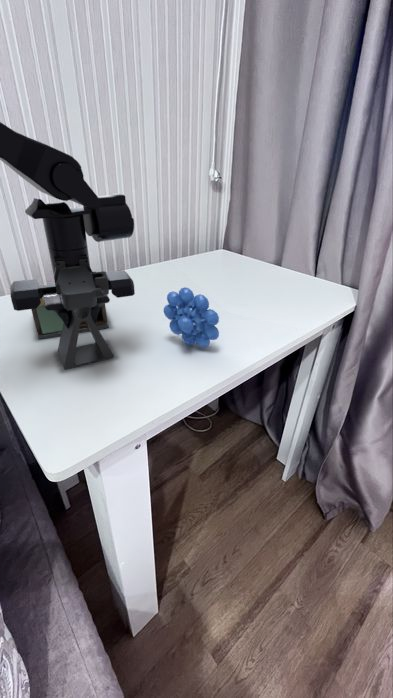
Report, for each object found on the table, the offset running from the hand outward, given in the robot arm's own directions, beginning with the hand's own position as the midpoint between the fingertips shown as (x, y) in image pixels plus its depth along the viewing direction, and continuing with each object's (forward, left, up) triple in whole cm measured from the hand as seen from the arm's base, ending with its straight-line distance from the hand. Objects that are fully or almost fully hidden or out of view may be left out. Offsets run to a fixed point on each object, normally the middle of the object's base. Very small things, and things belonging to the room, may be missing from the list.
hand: (82, 333), depth 59 cm
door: (-4, +10, -4) cm, 11 cm away
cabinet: (-1, +15, -5) cm, 16 cm away
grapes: (+19, -4, -5) cm, 20 cm away
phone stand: (0, 0, -5) cm, 5 cm away
